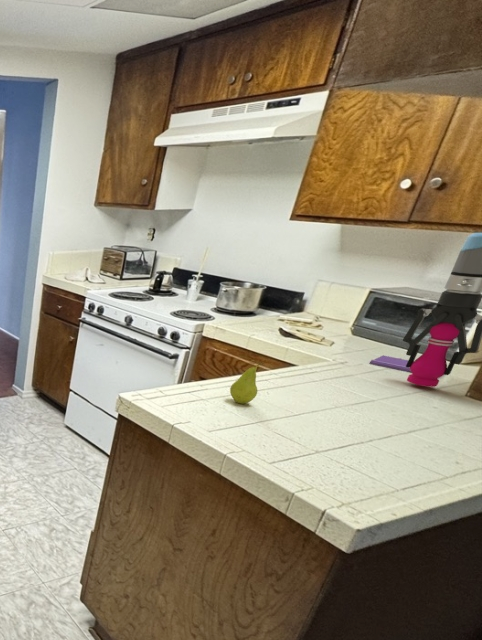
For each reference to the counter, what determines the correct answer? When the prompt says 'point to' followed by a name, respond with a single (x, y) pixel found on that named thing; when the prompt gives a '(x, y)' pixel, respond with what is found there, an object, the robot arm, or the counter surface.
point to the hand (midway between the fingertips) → (427, 370)
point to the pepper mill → (433, 356)
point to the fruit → (245, 386)
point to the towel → (391, 363)
